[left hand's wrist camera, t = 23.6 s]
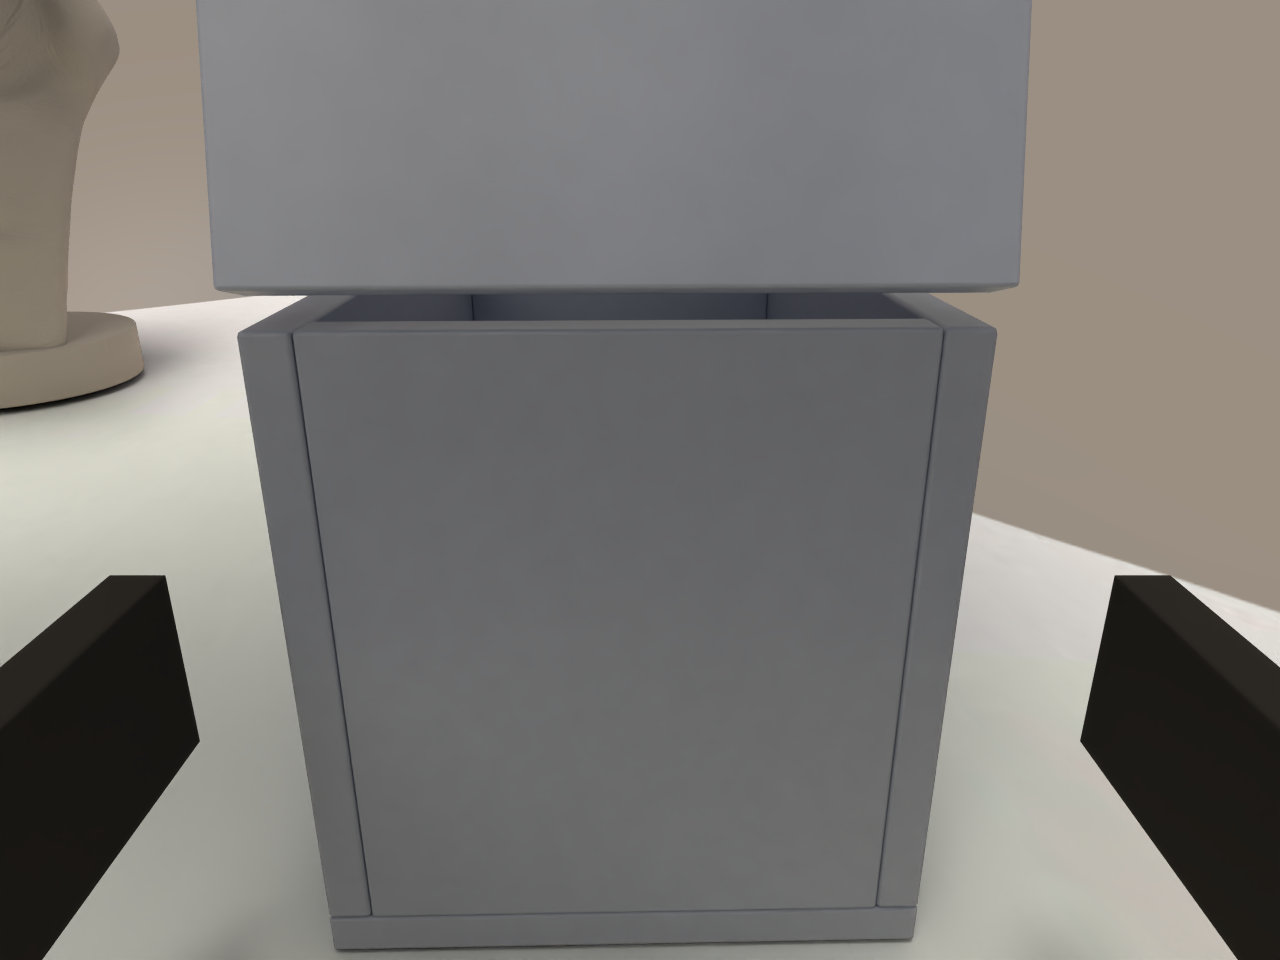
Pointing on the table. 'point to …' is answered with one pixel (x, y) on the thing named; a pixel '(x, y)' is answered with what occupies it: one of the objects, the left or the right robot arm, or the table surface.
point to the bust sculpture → (50, 204)
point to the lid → (614, 145)
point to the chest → (619, 605)
